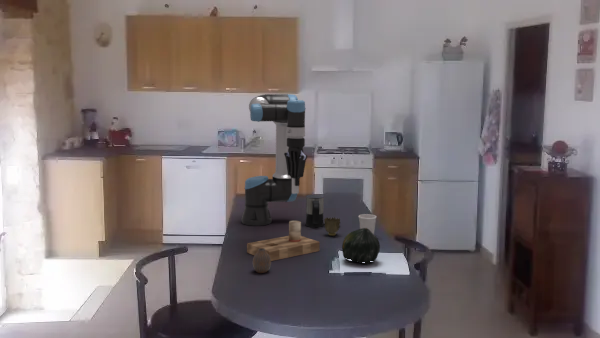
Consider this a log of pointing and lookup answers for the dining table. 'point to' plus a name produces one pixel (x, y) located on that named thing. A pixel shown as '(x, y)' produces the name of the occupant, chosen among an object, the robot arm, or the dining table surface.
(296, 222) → the beech peg
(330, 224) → the wire cup brush
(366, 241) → the squash
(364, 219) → the dixie cup
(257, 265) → the vase
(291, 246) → the oak board
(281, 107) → the robot arm
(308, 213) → the milk frother
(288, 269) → the dining table surface
